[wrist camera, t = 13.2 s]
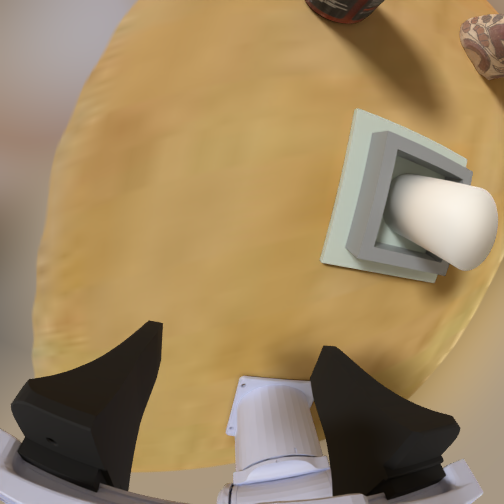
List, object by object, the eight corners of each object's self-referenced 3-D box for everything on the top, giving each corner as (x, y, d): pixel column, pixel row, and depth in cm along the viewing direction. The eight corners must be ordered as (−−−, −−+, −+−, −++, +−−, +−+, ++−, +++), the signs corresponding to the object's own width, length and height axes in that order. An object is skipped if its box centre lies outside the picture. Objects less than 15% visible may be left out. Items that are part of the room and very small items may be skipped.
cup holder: (431, 280, 23) (449, 294, 21) (319, 260, 22) (332, 275, 19) (463, 159, 20) (485, 161, 17) (354, 109, 19) (372, 102, 16)
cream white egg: (421, 239, 22) (483, 274, 14) (374, 228, 21) (436, 265, 13) (435, 183, 20) (504, 200, 12) (389, 165, 19) (459, 176, 12)
